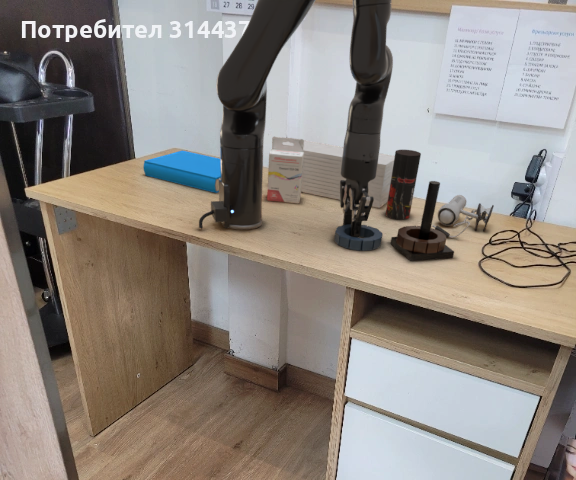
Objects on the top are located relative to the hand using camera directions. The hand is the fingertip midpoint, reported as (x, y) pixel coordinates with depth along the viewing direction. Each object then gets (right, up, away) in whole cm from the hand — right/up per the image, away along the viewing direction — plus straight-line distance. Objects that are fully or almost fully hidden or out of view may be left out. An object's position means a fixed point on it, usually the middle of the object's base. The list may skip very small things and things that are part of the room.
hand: (351, 233), depth 126 cm
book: (-40, +24, +31) cm, 56 cm away
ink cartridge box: (-15, +14, +19) cm, 28 cm away
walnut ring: (+14, -4, -6) cm, 16 cm away
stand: (+15, -5, -5) cm, 16 cm away
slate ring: (+1, -3, -3) cm, 4 cm away
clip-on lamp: (+27, +3, +8) cm, 28 cm away
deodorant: (+13, +8, +13) cm, 20 cm away
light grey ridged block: (-2, +18, +27) cm, 33 cm away
